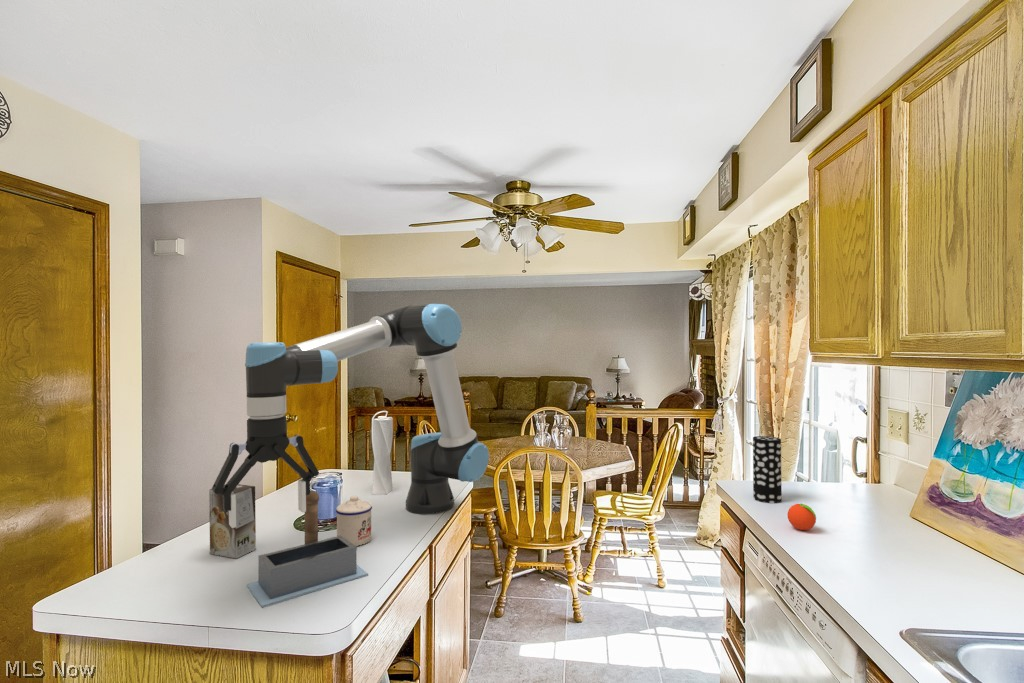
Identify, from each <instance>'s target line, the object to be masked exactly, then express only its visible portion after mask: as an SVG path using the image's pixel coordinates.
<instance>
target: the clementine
mask: <svg viewBox="0 0 1024 683" xmlns="http://www.w3.org/2000/svg"><path fill="white" fill-rule="evenodd" d="M786 515H787V519H788V520H787V521H788V522H789V524H791V526H792V527H794V528H795V529H797V530H800V531H809V530H810V529H812V528H813V527H814V526H815V524H816V523H817V516H816V513H815V511H814V510H813V509H812V507H810V506H809V505H808V504H804V503H794V504H793V505H791V506H790V507H789V509H788V510H787V514H786Z"/></svg>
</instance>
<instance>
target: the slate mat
mask: <svg viewBox="0 0 1024 683" xmlns="http://www.w3.org/2000/svg"><path fill="white" fill-rule="evenodd" d="M366 575H367V576H369V573H368V572H367V571H366V570H365V569H363V568H362V567H361V566H360V565H358V564H357V574H354V575H351V576H347V577H344V578H341V579H337V580H334V581H331V582H327V583H324V584H321V585H317V586H314V587H311V588H307V589H304V590H301V591H297V592H294V593H291V594H287V595H284V596H281V597H277V598H274V599H271V600H270V598H269V597H268V596H267V594H266V593H265V592H264V590H263V589H262V588H261V586H260V585H259V580H257V581H253V582H249V583H246V587H247V589H248V590H249V592H250V593H251V595H253V597H254V598H256V599H255V600H256V601H257V603H258V602H259V603H258V604H259V605H261V606H260V608H262V609H263V608H265V607H270V606H272V605H276V604H279V603H282V602H285V601H286V602H287V601H288V600H292V599H295V598H298V597H301V596H304V595H308V594H311V592H312V593H314V592H317V591H321V589H322V590H324V589H327V587H328V588H331V587H334V585H335V586H337V584H338V585H341V584H344V583H347V582H346V581H348V582H350V580H351V581H354V580H357V579H360V578H359V577H361V578H363V576H364V577H367V576H366ZM356 578H357V579H356ZM353 579H354V580H353ZM343 582H344V583H343ZM340 583H341V584H340ZM330 586H331V587H330Z"/></svg>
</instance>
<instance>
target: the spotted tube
mask: <svg viewBox="0 0 1024 683" xmlns="http://www.w3.org/2000/svg"><path fill="white" fill-rule="evenodd" d="M752 455H753V456H752V458H753V459H752V474H753V475H752V478H753V479H752V482H753V484H752V485H753V493H752V494H753V500H754V501H757V502H760V503H767V504H778V503H779V504H780V503H781V502H782V499H783V498H782V495H783V494H782V493H783V492H782V438H780V437H776V436H775V437H774V436H769V435H768V436H765V435H757V436H752Z"/></svg>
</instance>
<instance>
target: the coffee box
mask: <svg viewBox="0 0 1024 683" xmlns="http://www.w3.org/2000/svg"><path fill="white" fill-rule="evenodd" d="M226 484H227V483H225V484H224V486H225V485H226ZM224 486H223V487H224ZM233 493H235V494H236V527H235V528H232V527H231V526H230V525H229V511H225V510H224V509H223V495H222V494H215V493H214V492H213V490H212V488H210V489H209V490H208V498H209V500H208V502H209V504H208V505H209V507H208V508H209V509H208V510H209V555H213V554H215V556H219V555H220V556H221V557H226V558H232V559H238V558H241V557H242V556H245V555H247V554H249V552H250V553H252V552H254V551H256V549H257V544H256V543H257V542H256V541H257V539H256V538H257V537H256V536H257V535H256V533H257V531H256V526H257V525H256V524H257V523H256V520H257V519H256V486H254V485H249V484H248V485H247V484H241V483H239V484H238V485H237V486H236V488H235V489H234V490H233ZM251 551H252V552H251Z"/></svg>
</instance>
